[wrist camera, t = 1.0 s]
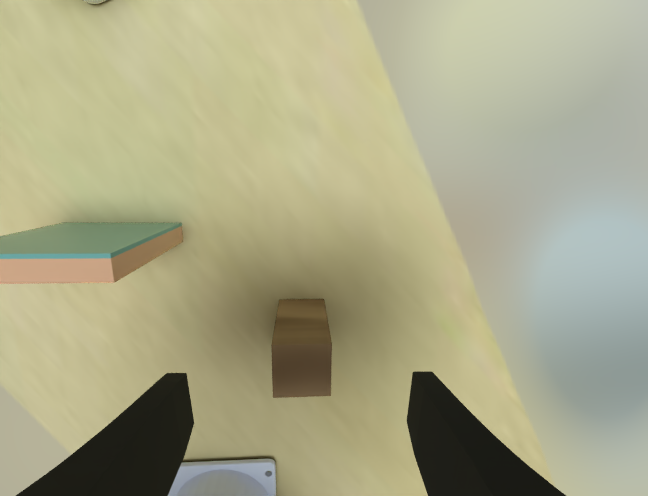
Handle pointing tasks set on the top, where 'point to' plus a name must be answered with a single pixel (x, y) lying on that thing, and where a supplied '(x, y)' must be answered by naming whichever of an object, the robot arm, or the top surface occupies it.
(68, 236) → the tile
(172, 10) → the top surface
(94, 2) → the eye dropper bottle
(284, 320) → the block
